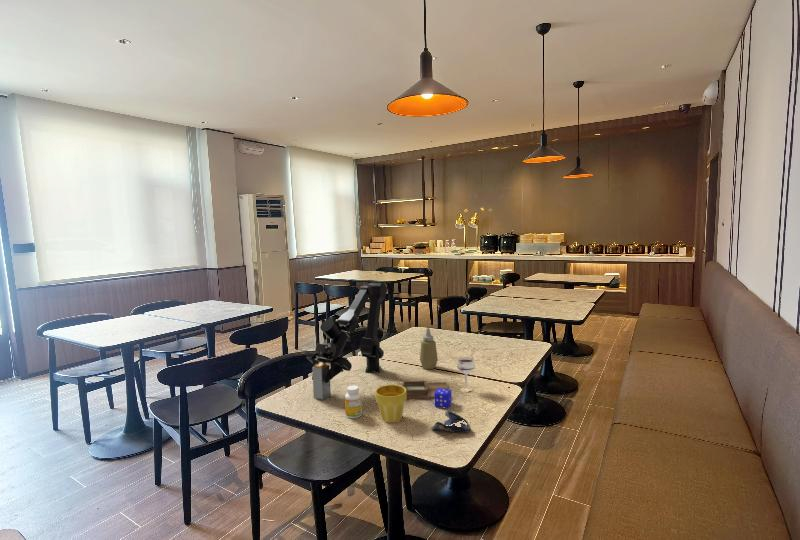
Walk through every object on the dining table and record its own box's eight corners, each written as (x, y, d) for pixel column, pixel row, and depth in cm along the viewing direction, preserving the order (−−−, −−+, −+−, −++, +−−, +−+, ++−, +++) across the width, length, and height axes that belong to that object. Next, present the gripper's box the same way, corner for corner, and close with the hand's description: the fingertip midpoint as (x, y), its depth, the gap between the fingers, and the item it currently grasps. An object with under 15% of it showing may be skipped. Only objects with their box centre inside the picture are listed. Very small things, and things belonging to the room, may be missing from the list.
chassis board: (396, 385, 168) (396, 378, 168) (446, 384, 168) (446, 377, 168) (395, 399, 154) (395, 392, 154) (450, 398, 154) (450, 390, 154)
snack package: (438, 419, 139) (426, 434, 128) (441, 400, 138) (430, 414, 128) (473, 430, 135) (464, 447, 124) (476, 412, 134) (468, 427, 123)
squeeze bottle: (441, 366, 190) (440, 327, 188) (432, 371, 183) (431, 331, 182) (425, 363, 195) (424, 325, 193) (416, 368, 188) (415, 329, 186)
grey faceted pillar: (321, 393, 162) (320, 361, 161) (330, 396, 160) (329, 363, 158) (313, 398, 158) (312, 365, 157) (322, 400, 156) (321, 366, 155)
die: (448, 408, 146) (448, 394, 145) (434, 407, 148) (434, 393, 147) (451, 402, 151) (451, 389, 150) (438, 401, 152) (437, 388, 152)
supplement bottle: (347, 411, 146) (346, 384, 145) (362, 411, 145) (361, 384, 144) (344, 418, 140) (343, 390, 139) (360, 418, 140) (359, 390, 139)
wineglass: (478, 389, 162) (478, 359, 161) (468, 394, 157) (468, 363, 156) (463, 385, 167) (463, 356, 165) (453, 390, 162) (453, 360, 160)
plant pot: (382, 428, 133) (381, 398, 132) (371, 415, 142) (370, 387, 141) (412, 421, 137) (411, 392, 136) (399, 409, 146) (398, 382, 145)
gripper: (308, 331, 165) (289, 367, 156) (345, 337, 155) (327, 375, 147) (322, 346, 172) (305, 381, 164) (359, 352, 163) (342, 389, 154)
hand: (319, 381), depth 157 cm, fingers open, 6 cm apart
